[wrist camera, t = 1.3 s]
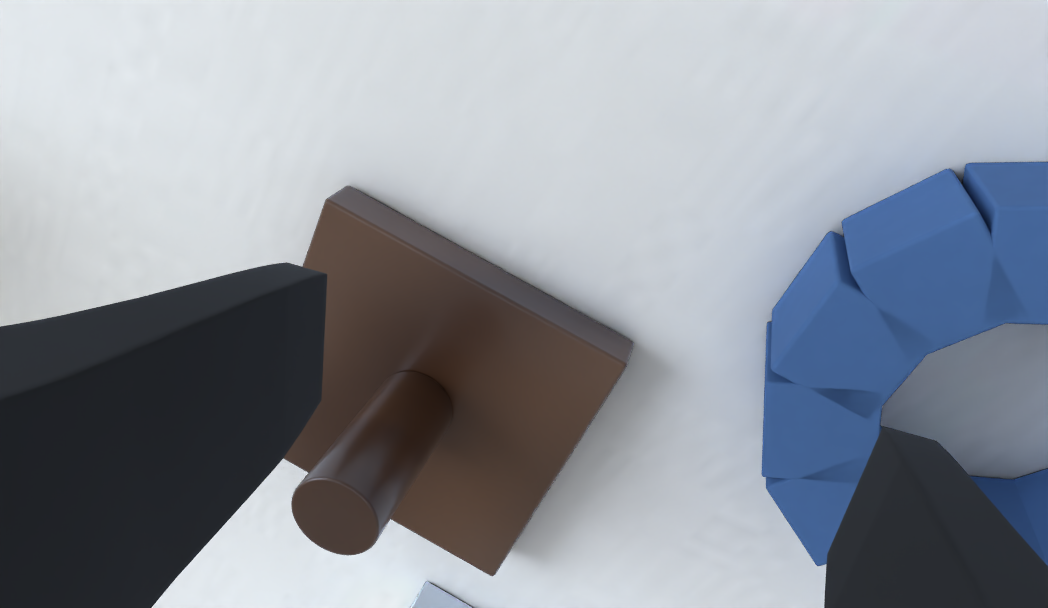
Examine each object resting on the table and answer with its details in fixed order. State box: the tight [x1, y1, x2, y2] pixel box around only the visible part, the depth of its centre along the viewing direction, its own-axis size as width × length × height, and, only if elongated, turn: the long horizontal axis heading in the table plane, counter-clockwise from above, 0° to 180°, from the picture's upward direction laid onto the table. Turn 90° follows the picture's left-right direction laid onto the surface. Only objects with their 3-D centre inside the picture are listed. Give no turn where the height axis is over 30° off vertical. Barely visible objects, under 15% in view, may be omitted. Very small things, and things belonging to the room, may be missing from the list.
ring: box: [762, 162, 1048, 566], centre depth 17 cm, size 10×10×3 cm
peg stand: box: [284, 186, 634, 576], centre depth 20 cm, size 8×8×6 cm
